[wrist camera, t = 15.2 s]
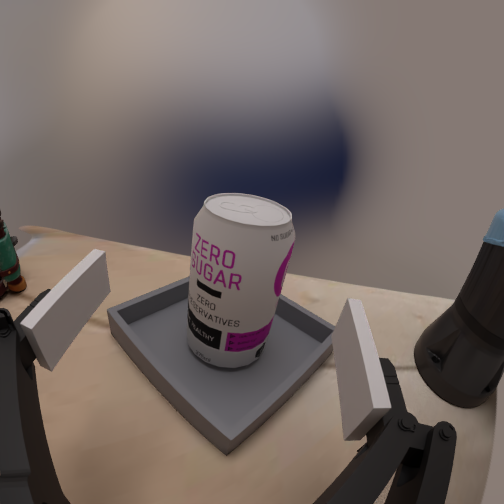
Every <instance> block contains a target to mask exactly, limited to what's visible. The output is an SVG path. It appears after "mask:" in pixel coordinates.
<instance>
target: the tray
mask: <svg viewBox="0 0 504 504" xmlns="http://www.w3.org/2000/svg"><path fill="white" fill-rule="evenodd" d="M189 278H190V276H189V277H186V278H184V279H181V280H179V281H176V282H174V283H171V284H169V285H166V286H164V287H161V288H159V289H156V290H154V291H151V292H149V293H146V294H144V295H141V296H139V297H136V298H134V299H131V300H129V301H127V302H124V303H122V304H119V305H117V306H114V307H112V308H109V309H107V314H108V319H109V324H110V329H111V333H112V335H113V336H114V337H115V339H116V340H117V341H118V343H119V344H120V345H121V347H122V348H123V349H124V350H125V352H126V353H127V354H128V355H129V357H130V358H131V359H132V360H133V362H134V363H135V364H136V365H137V366H138V368H139V369H140V370H141V371H142V372H143V374H144V375H145V376H146V377H147V378H148V379H149V380H150V382H151V383H152V384H153V385H154V386H155V387H156V388H157V389H158V391H159V392H160V393H161V394H162V395H163V396H164V397H165V398H166V399H167V400H168V401H169V402H170V403H171V404H172V405H173V406H174V408H175V409H176V410H177V411H178V412H179V413H180V414H181V415H182V416H183V417H184V418H185V419H186V420H187V421H189V422H190V423H191V424H192V425H193V426H194V427H195V428H196V429H197V430H198V431H199V432H200V433H201V434H202V435H203V436H204V437H206V438H207V439H208V440H209V441H210V442H211V443H212V444H213V445H214V446H216V447H217V448H218V449H219V450H220V451H221V452H223V453H224V454H225V455H228V454H229V453H230V452H231V451H232V450H234V449H235V448H236V447H237V446H238V445H240V444H241V443H242V442H243V441H244V440H245V439H246V438H248V437H249V436H250V435H251V434H252V433H253V432H254V431H255V430H257V429H258V428H259V427H260V426H261V425H262V424H263V423H264V422H265V421H266V420H267V419H268V418H270V417H271V416H272V415H273V414H274V413H275V412H276V411H277V410H278V409H279V408H280V407H281V406H282V405H283V404H284V403H285V402H286V401H287V400H288V399H289V398H290V397H291V396H292V395H293V394H294V393H295V392H296V391H297V390H298V389H299V388H300V387H301V386H302V385H303V384H304V382H305V381H306V380H307V379H308V378H309V377H310V376H311V375H312V374H313V373H314V372H315V371H316V370H317V368H318V367H319V366H320V365H321V364H322V363H323V362H324V361H325V359H326V358H327V357H328V356H329V355H330V354H331V353H332V351H333V344H332V338H331V336H332V333H333V331H334V329H335V326H333V325H332V324H330V323H328V322H327V321H325V320H323V319H322V318H320V317H318V316H317V315H315V314H313V313H312V312H310V311H308V310H307V309H305V308H303V307H302V306H300V305H298V304H297V303H295V302H293V301H292V300H290V299H288V298H287V297H285V296H283V295H282V294H280V297H279V300H278V304H277V307H276V311H275V314H274V318H273V321H272V325H271V328H270V331H269V335H268V338H267V342H266V345H265V348H264V351H263V352H262V354H261V355H260V357H259V358H258V359H257V360H255V361H253V362H252V363H250V364H249V365H245V366H241V367H237V368H227V367H218V366H215V365H212V364H210V363H207V362H205V361H203V360H202V359H201V358H199V357H198V356H197V355H195V354H194V352H193V351H192V349H191V348H190V346H189V345H188V340H187V315H188V295H189Z"/></svg>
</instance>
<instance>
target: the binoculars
mask: <svg viewBox="0 0 504 504" xmlns="http://www.w3.org/2000/svg"><path fill="white" fill-rule="evenodd" d="M0 216H1V211H0ZM17 242H18V241H17V237H15V236H13V237H10V235H9V232H8V229H7V227H6V224H5V223H4V222H3V220H1V217H0V277H2V280H0V297H1V296H2V295H3V293H4V292H5V291H6V290H8V288H9V289H10V290H12V291H21V290H23V289H25V288H26V282H25V279H24V277H23V276H21V275H20V264H19V259H18V256H17V254H16V251H15V248H14V246H15V245H16V244H17ZM3 280H5V281H6V282H7V287H5V285H4V283H3Z"/></svg>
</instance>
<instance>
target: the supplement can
mask: <svg viewBox="0 0 504 504" xmlns="http://www.w3.org/2000/svg"><path fill="white" fill-rule="evenodd" d="M291 220H292V215H291V212H290V211H289V210H288V209H286V208H285V207H284V206H282V205H280V204H278V203H276V202H274V201H271V200H269V199H266V198H262V197H258V196H254V195H248V194H240V193H223V194H216V195H213V196H210V197H208V198H207V199H206V200H205V201H204V206H203V207H202V209H201V210H200V211H199V213H198V214H197V216H196V217H195V219H194V228H193V239H192V251H191V264H190V278H189V295H188V315H187V340H188V345H189V346H190V348H191V349H192V351H193V352H194V354H195V355H197V356H198V357H199V358H201V359H202V360H203V361H205V362H207V363H210V364H212V365H215V366H218V367H227V368H237V367H241V366H245V365H249V364H250V363H252V362H253V361H255V360H257V359H258V358H259V357H260V355H261V354H262V352H263V351H264V348H265V345H266V342H267V338H268V335H269V331H270V328H271V325H272V321H273V318H274V314H275V311H276V307H277V304H278V300H279V297H280V293H281V290H282V286H283V282H284V279H285V275H286V271H287V268H288V264H289V260H290V256H291V253H292V249H293V245H294V241H295V232H294V228H293V224H292V221H291Z"/></svg>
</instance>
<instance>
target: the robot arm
mask: <svg viewBox="0 0 504 504" xmlns="http://www.w3.org/2000/svg"><path fill="white" fill-rule="evenodd" d="M483 241H484V242H483V244H482V247H481V249H480V252H479V254H478V256H477V258H476V261H475V263H474V265H473V267H472V269H471V272H470V273H469V275H468V277H467V279H466V281H465V283H464V285H463V287H462V289H461V291H460V293H459V295H458V297H457V298H456V300H455V302H454V303H453V305H452V306H451V307H450V308H448V309H447V310H446V311H445V312H444V313H443V314H442V315H441V316H440V317H438V318H437V319H436V320H435V321H434V322H433V323H432V324H430V325H429V326H428V327H427V328H426V329H425V330H424V332H423V333H422V335H421V336H420V338H419V340H418V341H417V343H416V346H415V360H416V364H417V367H418V369H419V371H420V373H421V375H422V377H423V378H424V380H425V381H426V383H427V384H428V385H429V386H430V387H431V388H432V389H433V390H434V391H435V392H436V393H437V394H438V395H439V396H440V397H442V398H443V399H445V400H446V401H448V402H450V403H452V404H454V405H457V406H460V407H467V408H470V407H476V406H479V405H481V404H482V403H483V402H485V401H486V399H487V398H488V397H489V396H490V395H491V394H492V393H493V392H494V390H495V389H496V387H497V385H498V383H499V381H500V379H501V377H502V374H503V372H504V209H501V210H499V211H498V212H497V213H496V215H495V216H494V219H493V221H492V223H491V225H490V228H489V230H488V232H487V234H486V236H484V238H483ZM109 293H110V285H109V278H108V271H107V263H106V254H105V251H101V250H97V249H94V250H93V251H92V252H90V253H89V254H88V255H87V256H86V257H85V258H84V259H83V260H82V261H81V262H80V263H79V264H77V265H76V266H75V267H74V268H73V269H72V270H71V271H70V272H69V273H68V274H67V275H66V276H65V277H64V278H63V279H62V280H61V281H60V282H59V283H58V284H57V285H56V286H55V287H54V288H53V289H52V290H51V289H47V290H46V291H44V292H42V293H40V294H39V295H38V296H37V297H36V298H35V299H34V301H33V302H32V303H31V304H30V306H28V307H27V308H26V309H25V310H24V311H23V312H22V313H21V314H20V315H19V316H18V317H17V319H16V320H15V321H14V322H13V319H12V317H11V314H10V312H9V311H8V310H7V309H5V308H0V504H70V502H69V501H68V499H67V498H66V497H65V496H64V494H63V492H62V490H61V487H60V484H59V481H58V478H57V475H56V472H55V469H54V465H53V462H52V458H51V455H50V451H49V447H48V443H47V439H46V435H45V430H44V425H43V420H42V415H41V410H40V404H39V397H38V390H37V382H36V373H35V366H34V363H33V361H34V360H35V359H36V358H37V360H38V362H39V364H40V366H42V367H44V368H46V369H48V370H50V371H51V372H52V370H53V369H54V367H55V366H56V364H57V363H58V362H59V360H60V359H61V357H62V356H63V354H64V353H65V351H66V350H67V349H68V347H69V346H70V344H71V343H72V342H73V340H74V339H75V337H76V336H77V335H78V333H79V332H80V331H81V329H82V328H83V327H84V325H85V324H86V323H87V321H88V320H89V319H90V317H91V316H92V315H93V313H94V312H95V311H96V309H97V308H98V307H99V306H100V304H101V303H102V302H103V300H104V299H105V298H106V297H107V295H108V294H109ZM331 338H332V344H333V351H334V358H335V365H336V373H337V381H338V389H339V397H340V406H341V416H342V426H343V437H344V441H352V440H361V439H362V438H363V437H364V436H365V435H366V437H367V442H366V443H365V444H364V445H363V446H362V447H361V448H360V449H359V450H357V452H358V453H357V454H356V456H355V457H354V458H353V459H352V461H351V462H350V463H349V464H348V466H347V467H346V468H345V469H344V470H343V471H342V473H341V474H340V475H339V476H338V477H337V478H336V480H335V481H334V482H333V483H332V484H331V485H330V486H329V487H328V488H327V489H326V490H325V492H324V493H323V494H322V495H321V496H320V497H319V498H318V499H317V500H316V501H315V502H314V503H313V504H373V503H374V502H375V500H376V499H377V498H378V496H379V495H380V493H381V492H382V491H383V489H384V488H385V486H386V485H387V483H388V482H389V480H390V479H391V477H392V476H393V474H394V472H395V471H396V474H395V476H394V479H393V482H392V485H391V488H390V490H389V493H388V496H387V498H386V501H385V503H384V504H444V503H445V499H446V495H447V491H448V487H449V482H450V477H451V472H452V466H453V460H454V453H455V446H456V438H457V436H456V431H455V428H454V427H453V426H452V425H451V424H450V423H448V422H445V421H441V422H438V423H437V424H436V425H435V426H434V427H432V426H428V425H424V424H420V423H418V421H417V419H416V417H414V416H413V415H412V414H411V413H409V412H407V410H406V406H405V402H404V398H403V395H402V391H401V388H400V385H399V381H398V378H397V374H396V371H395V367H394V366H393V364H392V363H391V362H390V360H389V359H388V358H379V357H378V353H377V350H376V346H375V343H374V340H373V336H372V333H371V330H370V327H369V323H368V320H367V317H366V314H365V311H364V308H363V305H362V302H361V300H357V299H351V298H347V301H346V303H345V306H344V308H343V310H342V313H341V315H340V317H339V320H338V322H337V324H336V327H335V329H334V331H333V333H332V336H331ZM396 469H397V470H396Z"/></svg>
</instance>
